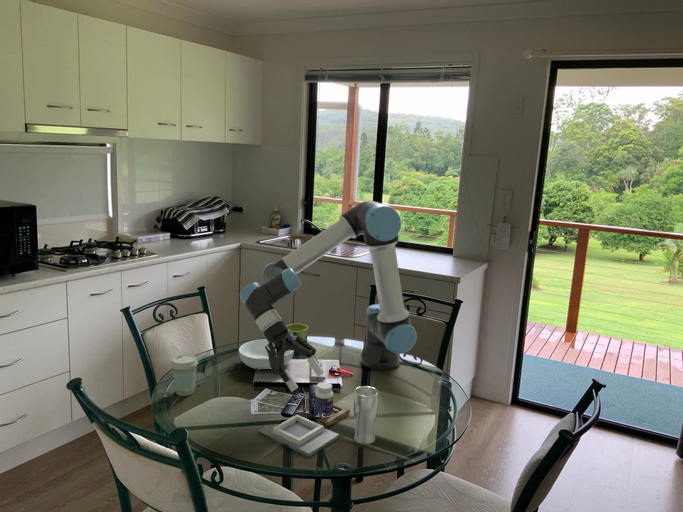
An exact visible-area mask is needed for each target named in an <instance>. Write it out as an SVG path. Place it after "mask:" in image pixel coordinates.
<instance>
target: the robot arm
mask: <svg viewBox="0 0 683 512" xmlns="http://www.w3.org/2000/svg"><path fill="white" fill-rule="evenodd" d="M401 227H402V220H401V216H400V215H399V212H397V210H396V209H394V207H392V206H390V205H389V204H386V203H381V202H378V201H376V200H365V201H362V202H360V203H357V204H356V205H355V206H353V207H351V208H350V209H348V210H347V211H345V212H344V213H342V214H341V215H340V216H339V219H338V220H337V221H336V222H334V223H333V224H331V225H329V226H328V227H327V228H325V229H324V230H323V231H321V232H319V233H318V234H317V235H315V236H313V237H312V238H310V239H309V240H307V241H306V242H304V243H303V244H301V245H300V246H299V247H297V248H295V249H294V250H293V251H291V252H290V253H288V254H287V255H285V256H284V257H282V258H281V259H279V260H277V261H276V262H270V263H268V264H265V266H264V268H263V269H262V277H263V280H264V283H263V284H261V285H260V283H258V282H256V281H255V282H251V283H250V284H247V285H245V286H244V287H243V288H242V289H241V290H240V292H239V298H240V299H241V301H242V303H243V305H244V306H245V308H246V310H247V311H248V313H249V314H250V317H251V318H252V319H253V320H254V322H255V323H256V325H257V326H258V328H259V330H260V331H261V332H263V336H264V337H265V339H267V340H268V342H269V343H268V344H267V345H266V346H265V349H266V351H267V353H268V357H269V362H270V367H271V370H270V371H271V374H272V375H276V376H280V378H281V379H282V381H283V383H284V384H286V386H287V387H288V389H289V390H290V392H291V393H292V392H294V391H295V390H297V389H298V388H299V386H298V384H297V382H296V381H295V379H294V378H293V376H292V375H291V374H290V372H289V371H288V369H285V365H284V353H285V352H286V351H289V350H294V352H296V353H298V354H299V355H301V356H303V357H306V358H307V362H308V364H309V366H310V367H311V369H312V370H313V372H314V373H315V374H316V376H317V377H320V376H322V375H323V374H324V373H325V371H324V370H323V368H322V366H321V365H320V362H319V360H318V359H317V357H316V356H315V355H316V353H317V349H316V348H315V347H314V346H312V345H311V344H310V343H309V342H307V340H306V339H305V340H304V339H302V338H301V337H300V336H299V335H298V333H297V332H293V333H292V334H291V335H290V334H289V333H288V328H287V325H286V324H285V322H284V321H283V320H282V317H281V316H280V314H279V313H278V311H277V310H276V308H275V307H274V305H275V304H276V303H278V302H280V301H281V300H284V298H286V297H288V296H289V295H290V294H292V293H294V292H295V291H296V290H298V289H299V288H301V286H302V282H301V279H300V278H299V277H298V275H297V274H299V273H300V272H301V271H304V269H306V268H308V267H309V266H311V265H312V264H314V263H316V262H317V261H318V260H319V259H321V258H322V257H324V256H325V255H327V254H329V253H330V252H331V251H333V250H335V249H336V248H337V247H339V246H341V245H343V243H345V242H346V241H348V240H349V239H356V238H358V237H359V236H361V235H363V239H364V245H365V246H366V247H367V248H368V249H369V250H370V255H371V262H372V267H373V273H374V280H375V287H376V293H377V298H378V299H377V300H378V303H377V304H371V305H369V306H368V307H367V308H366V313H365V316H366V318H365V319H366V320H365V322H366V323H365V325H366V326H365V328H366V329H365V344H364V346H363V349H362V351H361V354H360V363H361V365H362V366H364V367H366V368H368V369H374V370H383V371H385V370H391V369H392V370H393V369H394V368H396V367H398V366H399V364H400V355H402V354H406V353H408V352H409V351H411V350H412V348H413V347H414V346H415V344H416V343H417V338H418V334H417V331H416V328H415V327H414V326H413V325H412V323H411V317H410V311H409V310H407V309H405V306H404V298H403V291H402V284H401V278H400V277H401V276H400V271H399V265H398V259H397V257H398V256H397V249H396V245H397V244H398V242H399V232H400V231H401ZM275 349H276V352H275ZM276 355H277V356H276Z"/></svg>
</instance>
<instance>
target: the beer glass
mask: <svg viewBox="0 0 683 512" xmlns="http://www.w3.org/2000/svg"><path fill="white" fill-rule="evenodd" d="M378 411H379V391H378V389H377V388H375V387H373V386H369V385H364V386H358V387H357V388H355V390H354V398H353V414H354V415H353V416H354V420H355V431H354V432H355V433H354V436H353V440H354V441H355V442H356V443H357V444H360V445H363V446H365V445H372V444H373V443H375V441H376V435H375V425H376V420H377V416H378Z"/></svg>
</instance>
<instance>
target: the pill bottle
mask: <svg viewBox="0 0 683 512" xmlns="http://www.w3.org/2000/svg"><path fill="white" fill-rule="evenodd" d="M332 389H333V384H331V383H329V382H324V381H323V382H318V383H317V384H316V391H315V393H314V394H315V395H314V402H315V409H316V411H318V412H320V413H322V414H323V416H325V417H327V416H330V415H332V413H334V410H333V403H334V391H333V390H332ZM332 416H333V415H332Z"/></svg>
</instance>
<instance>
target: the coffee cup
mask: <svg viewBox="0 0 683 512" xmlns="http://www.w3.org/2000/svg"><path fill="white" fill-rule="evenodd" d="M198 363H199V362H198V360H197V358H196V356H194V355H192V354H181V355H177V356H174V357H173V358H172V360H171V362H170V367H171V369H172V374H173V375H172V376H173V381H174V388H175V393H176V395H177V396H179V397H189V396H191V395H193V394H194V393H195V388H196V376H197V367H198V366H197V365H198Z"/></svg>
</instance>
